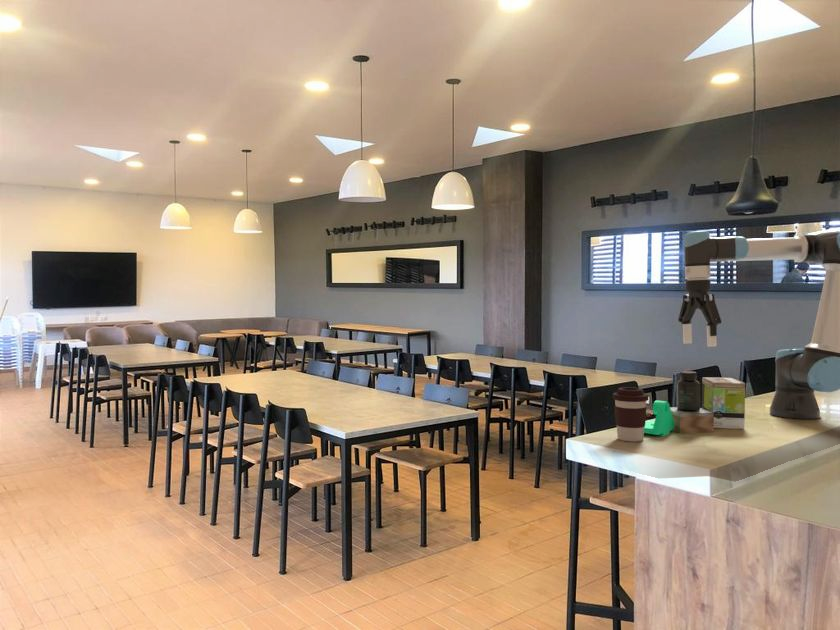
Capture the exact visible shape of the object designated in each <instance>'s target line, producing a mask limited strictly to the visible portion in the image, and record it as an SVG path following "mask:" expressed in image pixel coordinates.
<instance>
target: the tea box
mask: <svg viewBox="0 0 840 630" xmlns="http://www.w3.org/2000/svg"><path fill="white" fill-rule="evenodd" d="M701 381H702V382H701V409H704V410H707V411H710V412H714V429H732V430H733V429H734V430H740V429H741V430H745V426H746V425H745V423H746V422H745V419H746V418H745V415H746V414H745V413H746V383H745V382H743V381H741V380H739V379H735V378H733V377H720V376H719V377H718V376H717V377H710V376H709V377H706V376H705V377H702V379H701Z"/></svg>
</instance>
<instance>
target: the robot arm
mask: <svg viewBox="0 0 840 630" xmlns="http://www.w3.org/2000/svg"><path fill="white" fill-rule="evenodd" d="M683 239H684V240H683V249H684V250H683V252H684V253H683V254H684V272H685V273H684V276H685V279H686V281H685V286H684V287H685V292H686V294H683V295H682V303H681V307H680V312H679V315H678V320H677V321H678V322H680V323H681V324H682V340H683V341H682V342H683V344H684V345H686V344H687V345H688V344H689V345H690V344H693V331H692V329H693V328H692V319H693V317H694V315H695V313H696V310H700V311H701V313H702V315H703V316H704V318H705V320H706V322H707V324H706V345H707V347H709V348H710V347H712V348H713V347H717V346H718V345H717V335H718V333H717V331H718V330H717V327H718V325H720V324H722V319H721V316H720V313H719V310H718V306H717V303H716V301H715V300H716V299H715V294H714V293H708V292H710V291H711V289H712V286H711V284H712V283H711V280H710V278H711V263H719V262H720V263H721V262H747V261H748V262H750V261H753V262H754V261H778V260H779V261H784V260H785V261H786V260H787V261H788V260H794V262H796V263H812V264H813V263H814V264H816V263H817V264H821V266H822V268H823V269H824V270H825V276H824V279H823V280H824V281H823V285H822V289H821V293H820V294H821V295H820V298H819V304H818V308H817V314H816V318H815V323H814V327H813V331H812V338H811V341H810V343H808V344H806V345H805V346H804V348H793V349H792V348H791V349H790V348H788V349H779V350H777V351H776V352H775V359H774V362H775V392H774V395H773V398H772V401H771V403H770V407H769V415H772V416H775V417H780V418H785V419H798V420H812V419H819V418H820V417H821V410H820V408H819V404H818V401H817V399H816V395H815V392H821V393H834V392H837V391H839V390H840V227H836V228H829V229H825V230H821V231H816V232H811V233H810V232H809V233H804V234H803V233H800V234H796V235H795V236H794V237H770V238H769V237H768V238H762V237H761V238H746V237H745V236H738V235H737V236H736V235H734V236H720V237H719V236H718V237H717V236H715V237H714V236H713V237H712V236H711V235H710V232H709V231H708V230H696V231H689V232H688V231H687V232H686V233H685V234H684V238H683ZM687 293H688V294H687Z"/></svg>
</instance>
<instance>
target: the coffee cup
mask: <svg viewBox="0 0 840 630" xmlns="http://www.w3.org/2000/svg"><path fill="white" fill-rule="evenodd" d="M612 400H614V403H615V404H614V415H615V416H614V417H615V418H614V419H615V426H616V433H617V439H618V440H619V441H623V442H631V443H634V442H635V443H636V442H642V441H644V437H645V435H644V434H645V433H644V427H645V422H647V419H646V418H647V416H646V415H647V406H646V405H647V401H649V394H648V393H645V391H644V390H643V388H639V387H632V386H625V387H619V388H617V390H616V392H612Z"/></svg>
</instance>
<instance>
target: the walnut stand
mask: <svg viewBox="0 0 840 630" xmlns="http://www.w3.org/2000/svg"><path fill="white" fill-rule="evenodd" d="M670 409H671V413H672V416H673V420H674V423H675V429H672V430H671V431H674V432H676V433H678V434H693V433H694V434H696V433H699V434H700V433H714V431H715V428H714V412H710V411H707V410H704V409H702V407H700V410H699V411H696V412H687V411H680V410H678V409H677V406H672V407H671V406H670Z"/></svg>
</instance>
